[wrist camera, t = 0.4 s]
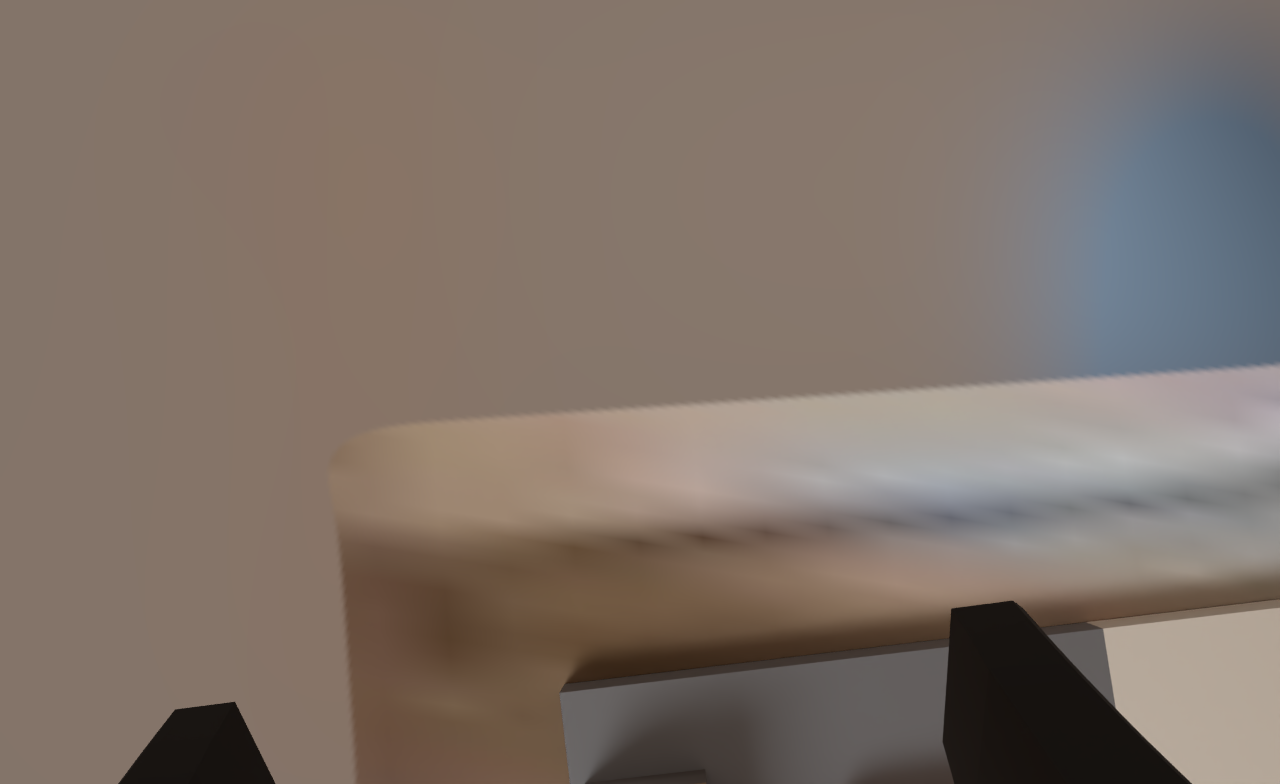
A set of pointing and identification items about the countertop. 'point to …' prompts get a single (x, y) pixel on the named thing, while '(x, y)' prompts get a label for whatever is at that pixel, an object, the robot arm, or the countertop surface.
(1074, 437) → the countertop surface
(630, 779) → the block
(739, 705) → the board
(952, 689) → the robot arm
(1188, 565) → the countertop surface
